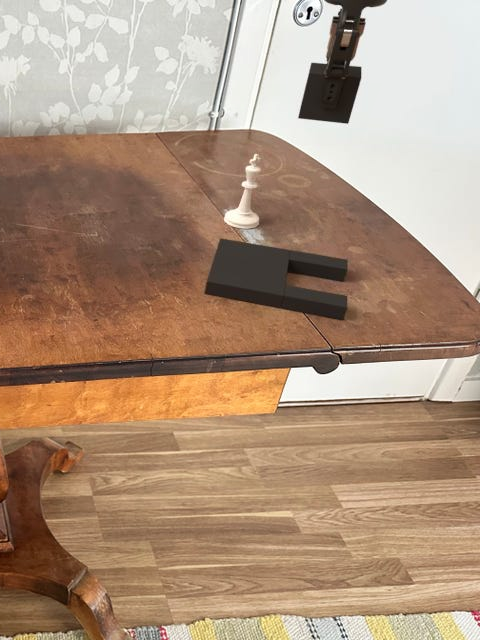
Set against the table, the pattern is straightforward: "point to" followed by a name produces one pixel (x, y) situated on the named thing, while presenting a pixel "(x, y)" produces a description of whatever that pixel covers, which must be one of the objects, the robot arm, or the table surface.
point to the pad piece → (314, 90)
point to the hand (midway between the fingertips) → (327, 99)
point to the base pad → (275, 277)
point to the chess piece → (245, 200)
